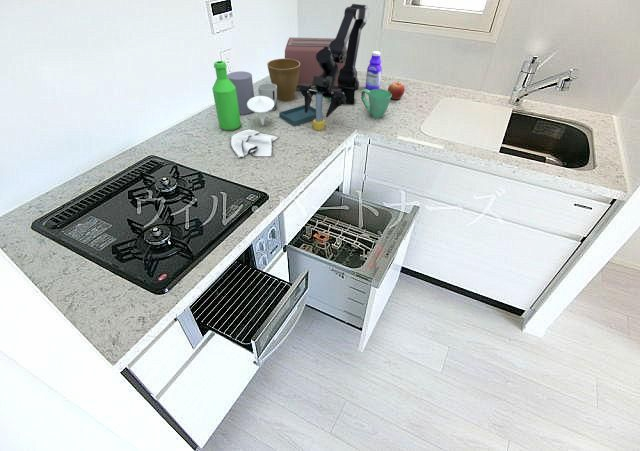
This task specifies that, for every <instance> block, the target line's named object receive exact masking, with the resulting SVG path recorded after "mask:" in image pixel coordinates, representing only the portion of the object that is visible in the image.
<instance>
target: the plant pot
mask: <svg viewBox="0 0 640 451" xmlns="http://www.w3.org/2000/svg"><path fill="white" fill-rule="evenodd" d="M266 66H267V70H268V74H269V78H270V81H271V82H270V83H272V84H275V85H277V100H279V101H281V102H291V101H292V100H293V99H294V98H295V95H296V92H297V91H296V88H297V84H298V78H299V71H300V62H299V61H297V60H294V59H285V58H276V59H272V60H270V61H268V62H267V64H266Z"/></svg>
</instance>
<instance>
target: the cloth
mask: <svg viewBox="0 0 640 451" xmlns="http://www.w3.org/2000/svg"><path fill="white" fill-rule="evenodd" d="M278 138H279V136H275V135H273V134H266V133H262V132H259V131H258V130H253V129H244V130H241V131H239V132H236V133H235V134H233V135H231V136H230V145H231V148H232V150H233V152H234V153H235V155H236V156H237V157H238V159H239V158H245V156H247V155H248V154H250V155H252V156H254V157H272V149H273V144H272V143H273V142H274V141H276V140H277V139H278Z"/></svg>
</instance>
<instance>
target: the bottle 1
mask: <svg viewBox="0 0 640 451" xmlns="http://www.w3.org/2000/svg"><path fill="white" fill-rule="evenodd" d="M213 68H214V69H215V74H216V79H215V82H214V84H213V86H212V94H213V100H214V106H215V110H216V115H217V121H218V126H219V128H221V129H222V130H224V131H235V130H237V129H239V128H240V127H241V126H242V121H241V114H239V107H238V100H237V94H236V87H235V86H234V85H233V83H232V82H231V81H230V80H229V79H228V77H227V75H228V73H227V72H228V71H227V64H226V62H225V61H224V60H218V61H214V62H213Z"/></svg>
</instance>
